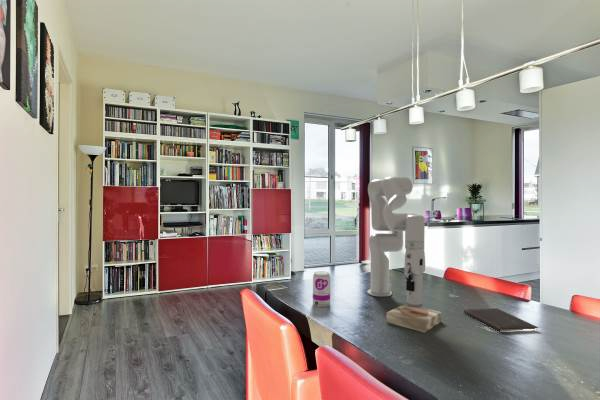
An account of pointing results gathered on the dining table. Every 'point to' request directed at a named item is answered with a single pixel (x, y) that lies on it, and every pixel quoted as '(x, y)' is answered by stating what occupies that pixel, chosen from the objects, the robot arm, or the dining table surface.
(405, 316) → the cream panel copper ring
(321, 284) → the supplement can
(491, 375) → the dining table surface
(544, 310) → the dining table surface
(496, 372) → the dining table surface
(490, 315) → the hardcover book
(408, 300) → the travel mug
